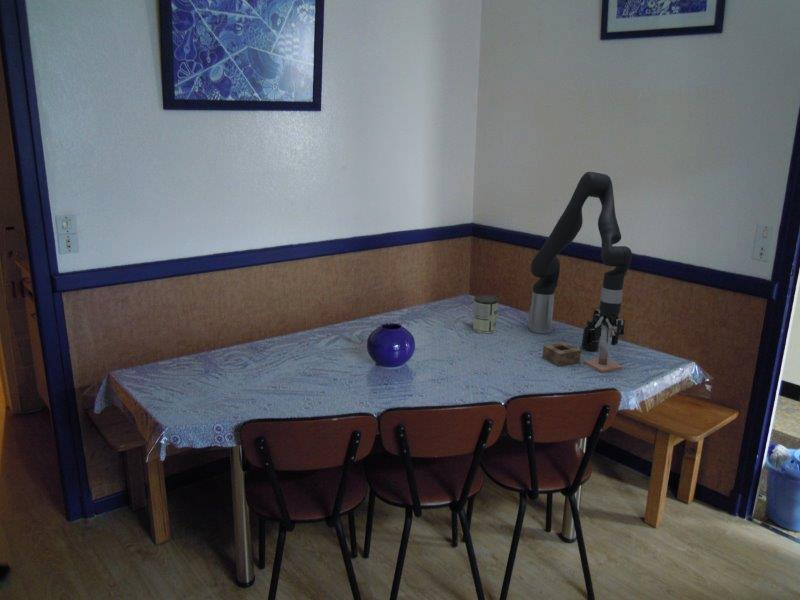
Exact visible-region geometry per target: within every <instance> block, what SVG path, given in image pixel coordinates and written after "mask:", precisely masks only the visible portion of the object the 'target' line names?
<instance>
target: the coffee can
mask: <svg viewBox="0 0 800 600" xmlns="http://www.w3.org/2000/svg"><path fill="white" fill-rule="evenodd" d="M473 297H474V299H473V300H474V303H473V304H474V305H473V320H472V323H473V324H472V330H473V331H474V332H477V333H480V334H492V333H495V332H496V331H497V326H498V325H497V323H498V313H499V312H498V310H499V309H498V308H499V301H500V298H499V297H497V296H495V295H489V294H479V295H475V296H473Z"/></svg>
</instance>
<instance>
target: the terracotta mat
mask: <svg viewBox="0 0 800 600" xmlns="http://www.w3.org/2000/svg"><path fill="white" fill-rule="evenodd" d="M598 362H599V357H598V358H592V359H591V358H590V359H586V360H583V364H584V365H586V366H588V367H590V368H591V369H594V370H595V371H598V372H599V373H601V374H602V373H603V374H604V373H608V372H612V371H618V370H622V369H623V366H622V365H620V364H618V363H617V362H614V361H612V360H611V359H609V358H608V361H607V365H600V364H599V363H598Z"/></svg>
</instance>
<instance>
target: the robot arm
mask: <svg viewBox="0 0 800 600" xmlns="http://www.w3.org/2000/svg"><path fill="white" fill-rule="evenodd" d="M576 185H577V186H576V187H575V189H574V192H573V194H572V196H571V197H570V200H569V202H568V204H567V205H566V207H565V209H564V211H563V213H562V214H561V216H560V217H559V218H558V220H557V222H556V224H555V225H554V227H553V229H552V231H551V233H550V234H549V236H548V237H547V239H546V240H545V242H544V244H543V246H542V247H541V248H540V249H539V251H537V253H536V255H535V256H534V258H533V259H532V261H531V264H530V272H531V274H532V275H533V276H534V277H535V278H539V279H538V280H537V281H536V282H535V283H534V284H533V286H532V293H531V306H530V307H529V312H528V322H527V323H528V325H527V329H529V331H530V332H532V333H535V334H536V333H537V334H549V333H551V331H552V323H553V314H554V302H555V293H556V289H557V287H558V283H559V277H560V272H561V271H560V270H561V265H560V264H561V263H560V260H559V258H558V256H557V255H558V254H560V252H562V251H563V250H564V249H565V248H566V247H568V246H569V245H570V244H571V243H572V242H573V241H574V240H575V238H576V237H577V236H578V234H579V232H580V231H581V229H582V227H583V223H584V222H583V207H584V205H585V203H586V201H587V199H588V198H589V197H590V198H597V199H598V200H599V202H600V203H601V211H600V213H599V216H598V218H597V228H598V232H599V236H600V239H601V254H600V255H601V256H600V257H601V258H600V260H601V261H602V263H603V264H604V265H606V266H609V267H613V266H615V267H614V269H612V270H608V271H606V272H604V275H603V282H602V288H601V292H600V301H599V309H594V310H593V314H592V318H591V319H592V325H595V328H596V329H595V337H596V338H599V337H600V338H601V329H602V326H603V325H607V327H609V329H610V332H611V334H612V335H611V342H610V344H611V345H612V346H617V345H618V341H619V336H624V334H625V323H626V320H625V319H620V318H619V314H621V309H622V300H623V288H624V280H625V277H626V276H627V271H628V270H629V267H630V265H631V263H632V259H633V252H632V250H631V248H630V247H628V246H626V245H624V246H623V245H621V246H619V245H617V246H616V245H615V244H618V243H619V242H620V241H621V239H622V234H621V230H620V227H619V222H618V220H617V214H616V208H615V195H614V187H613V181H612V178H611V177H610V176H609V175H608V174H605V173H600V172H595V171H587V172H585V173H584V174H583V175H582V176H581V177H580V179H579V181H578V183H577V184H576ZM614 245H615V246H614ZM595 320H596V321H595Z"/></svg>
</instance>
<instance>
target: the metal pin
mask: <svg viewBox="0 0 800 600" xmlns="http://www.w3.org/2000/svg"><path fill="white" fill-rule="evenodd" d="M601 328H602V329H601V337H600V343H599V350H598V351H599V353H598V358H599V362H598V363H599V364H600V365H607V361H608V359H609V349H610V348H609V347H610V339H611V338H610V337H611V330H610V329H609V327H607V325H603V326H602V327H601Z"/></svg>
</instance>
